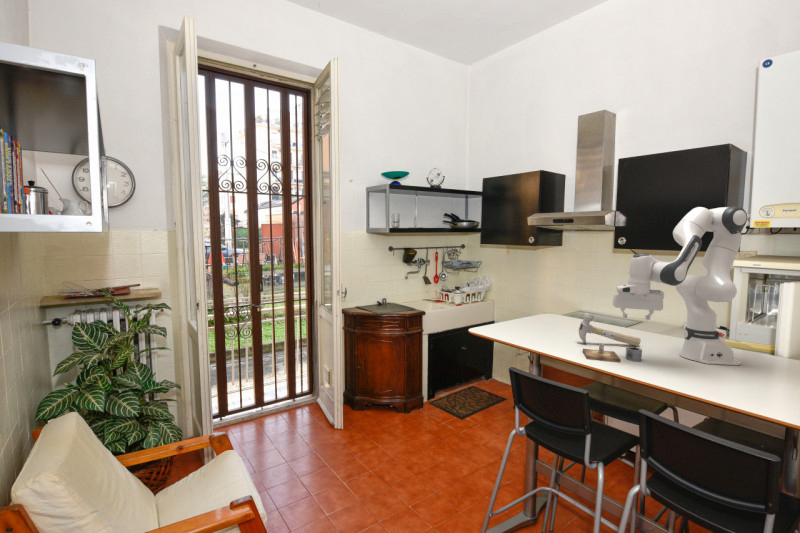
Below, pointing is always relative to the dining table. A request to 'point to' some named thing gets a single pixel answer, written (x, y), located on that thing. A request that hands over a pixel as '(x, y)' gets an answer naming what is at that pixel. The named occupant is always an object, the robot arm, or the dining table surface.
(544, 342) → the dining table surface
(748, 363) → the dining table surface
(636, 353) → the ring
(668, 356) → the dining table surface
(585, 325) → the hammer
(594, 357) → the post board
